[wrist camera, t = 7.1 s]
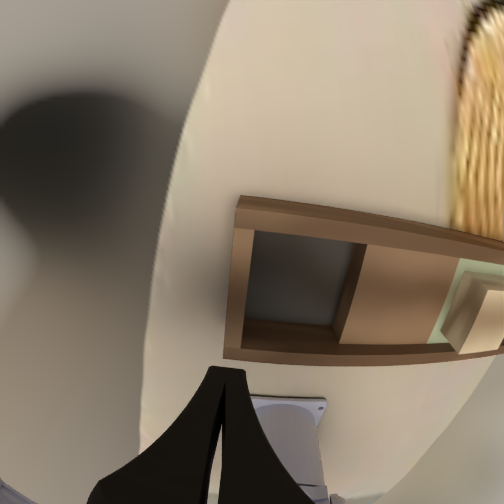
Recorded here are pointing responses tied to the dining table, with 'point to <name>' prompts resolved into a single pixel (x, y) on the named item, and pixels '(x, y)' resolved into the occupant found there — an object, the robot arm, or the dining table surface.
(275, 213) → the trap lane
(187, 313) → the dining table surface
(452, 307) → the maple block
